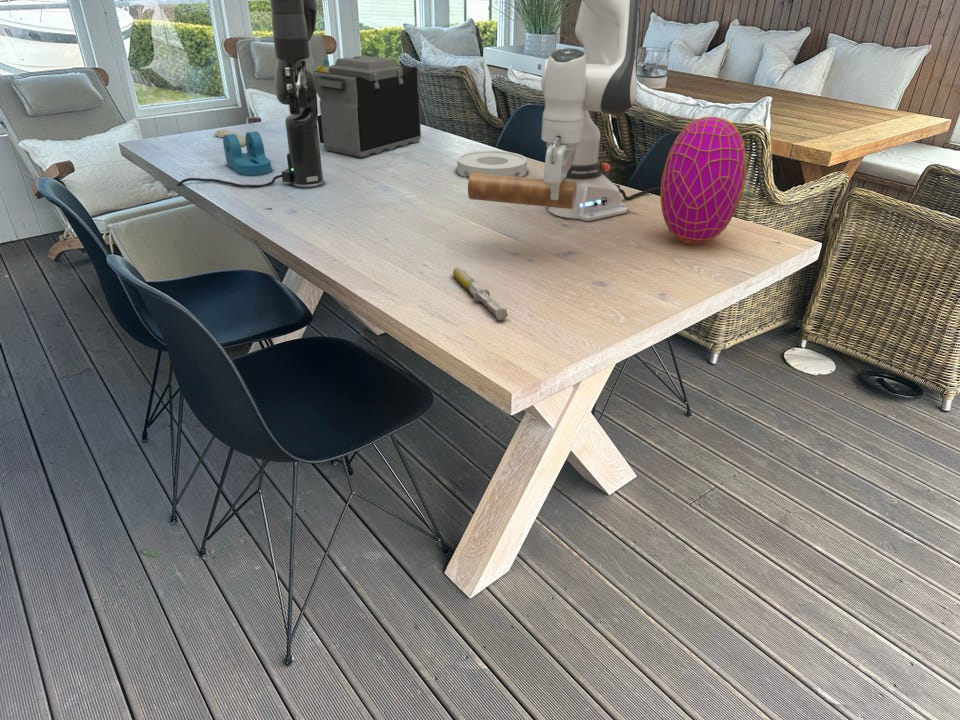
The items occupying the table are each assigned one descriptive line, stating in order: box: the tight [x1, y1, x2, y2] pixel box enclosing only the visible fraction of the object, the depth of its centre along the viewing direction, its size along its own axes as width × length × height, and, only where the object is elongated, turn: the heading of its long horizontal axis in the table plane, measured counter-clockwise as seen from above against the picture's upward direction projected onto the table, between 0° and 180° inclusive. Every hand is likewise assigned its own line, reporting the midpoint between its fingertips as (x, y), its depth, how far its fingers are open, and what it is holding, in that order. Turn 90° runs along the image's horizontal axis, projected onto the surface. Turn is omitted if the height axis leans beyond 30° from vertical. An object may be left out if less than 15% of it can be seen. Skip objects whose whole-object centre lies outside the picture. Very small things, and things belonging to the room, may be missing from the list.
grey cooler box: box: [310, 55, 422, 159], centre depth 250 cm, size 37×22×30 cm, turn 144°
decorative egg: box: [659, 116, 747, 244], centre depth 167 cm, size 19×19×30 cm
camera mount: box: [222, 131, 272, 176], centre depth 226 cm, size 18×10×10 cm, turn 35°
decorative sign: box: [214, 129, 246, 147], centre depth 266 cm, size 26×1×10 cm
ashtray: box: [456, 150, 528, 179], centre depth 228 cm, size 23×23×4 cm
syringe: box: [452, 266, 509, 321], centre depth 145 cm, size 25×4×3 cm, turn 21°
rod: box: [467, 173, 577, 209], centre depth 158 cm, size 24×6×6 cm, turn 75°
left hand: (299, 110), depth 163 cm, fingers open, 8 cm apart
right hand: (557, 194), depth 156 cm, fingers closed on rod, 6 cm apart
